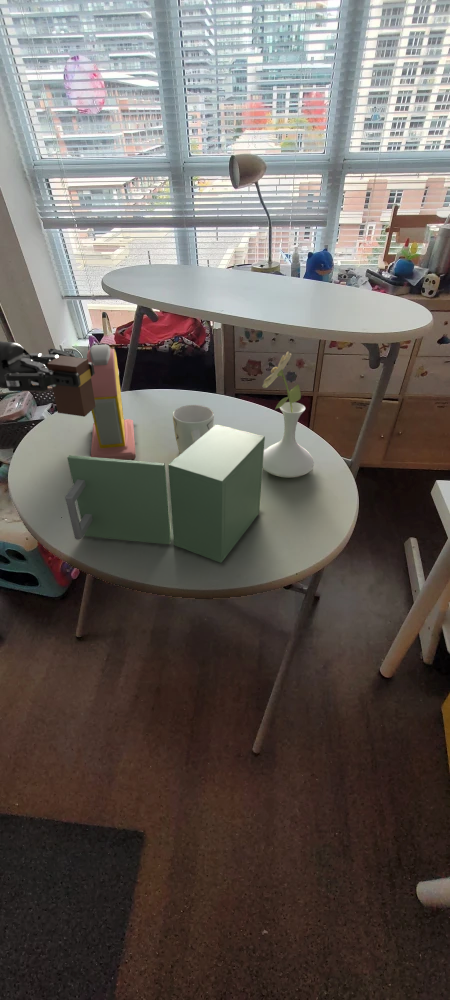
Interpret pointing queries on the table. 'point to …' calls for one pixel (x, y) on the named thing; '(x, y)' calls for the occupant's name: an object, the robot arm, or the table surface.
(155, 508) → the cupboard door
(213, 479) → the cupboard
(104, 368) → the yellow alarm clock
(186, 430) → the mug
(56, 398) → the chocolate box
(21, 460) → the table surface
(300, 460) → the flower in vase
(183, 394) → the table surface
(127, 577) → the table surface
